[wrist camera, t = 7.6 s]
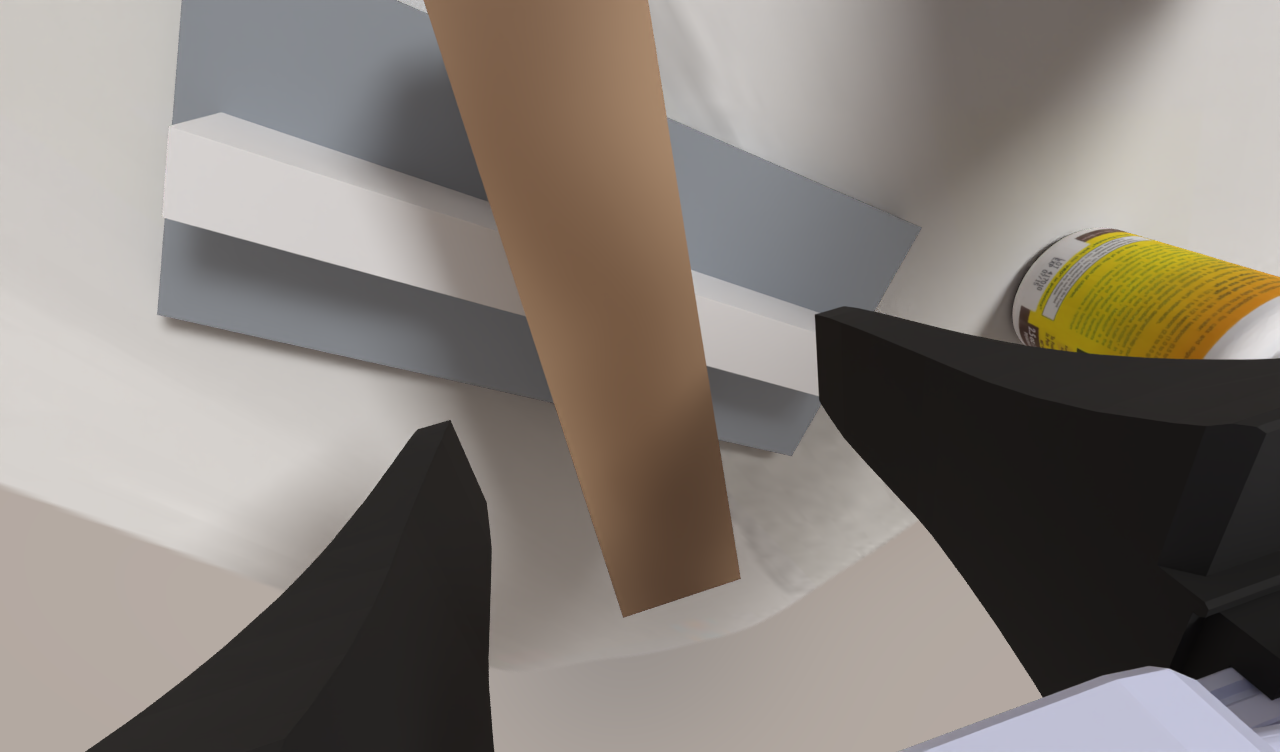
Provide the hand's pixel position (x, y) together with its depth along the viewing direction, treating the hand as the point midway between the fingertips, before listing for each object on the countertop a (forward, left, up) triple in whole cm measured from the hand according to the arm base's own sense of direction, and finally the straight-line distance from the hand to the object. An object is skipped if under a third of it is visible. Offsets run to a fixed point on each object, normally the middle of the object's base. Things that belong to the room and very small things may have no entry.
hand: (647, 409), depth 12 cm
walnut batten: (0, 0, -6) cm, 6 cm away
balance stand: (0, 0, -10) cm, 10 cm away
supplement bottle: (-20, -5, -10) cm, 23 cm away
